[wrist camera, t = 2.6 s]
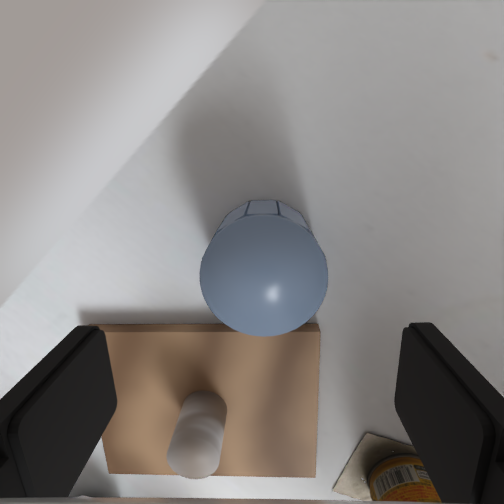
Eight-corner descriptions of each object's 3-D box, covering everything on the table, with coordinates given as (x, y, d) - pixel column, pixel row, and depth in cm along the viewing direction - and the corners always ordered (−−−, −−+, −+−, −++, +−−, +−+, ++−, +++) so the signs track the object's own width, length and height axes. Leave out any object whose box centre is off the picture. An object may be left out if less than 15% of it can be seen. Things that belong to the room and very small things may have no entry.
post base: (318, 323, 25) (331, 370, 20) (313, 464, 29) (324, 536, 24) (88, 324, 26) (42, 369, 21) (114, 461, 30) (81, 529, 25)
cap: (314, 199, 23) (330, 215, 17) (312, 293, 25) (325, 336, 19) (212, 201, 23) (194, 217, 17) (218, 294, 25) (204, 336, 19)
